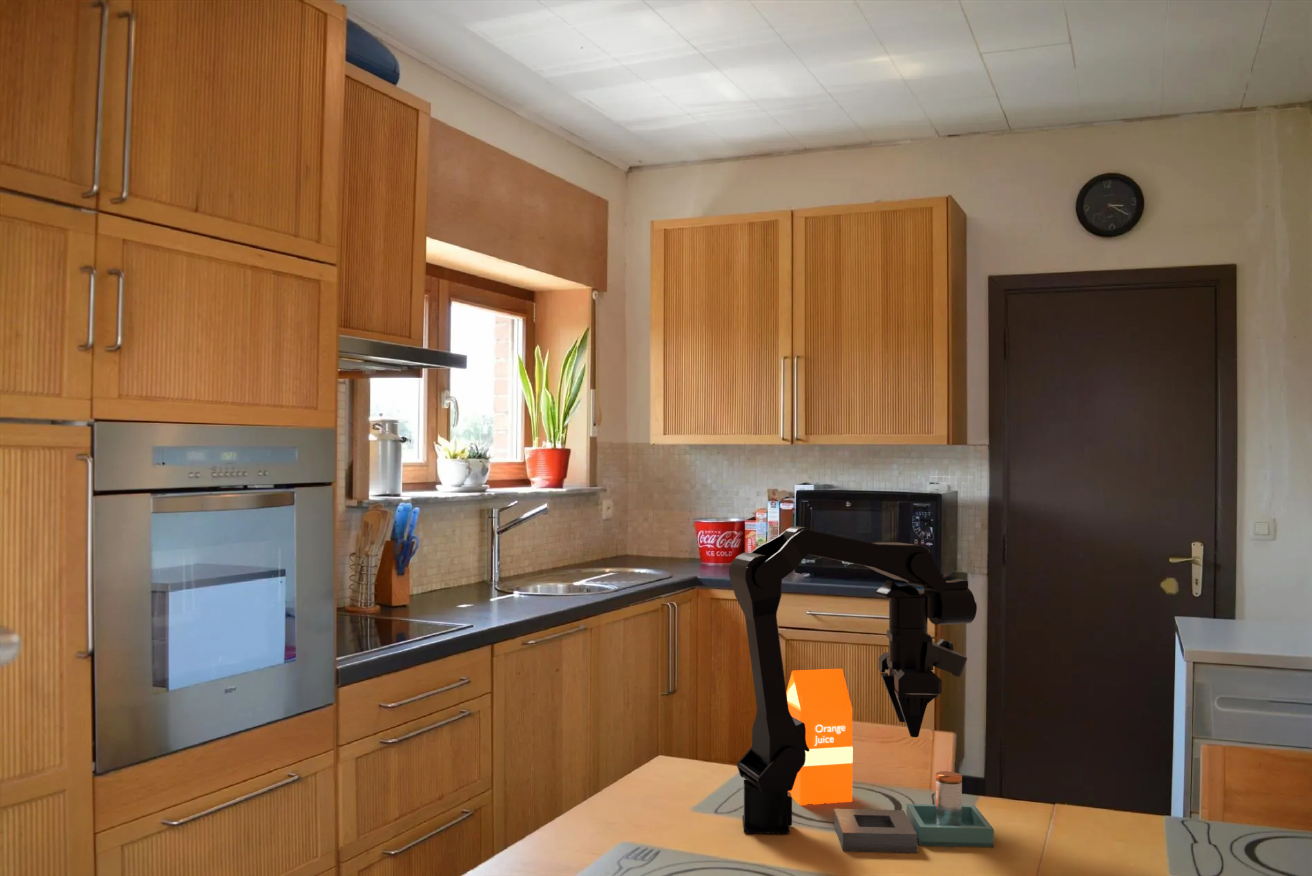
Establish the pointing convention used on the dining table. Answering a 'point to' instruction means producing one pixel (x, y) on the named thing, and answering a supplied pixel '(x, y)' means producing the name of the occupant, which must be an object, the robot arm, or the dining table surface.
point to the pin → (948, 799)
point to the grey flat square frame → (875, 831)
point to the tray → (950, 827)
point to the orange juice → (823, 735)
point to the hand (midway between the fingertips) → (908, 729)
